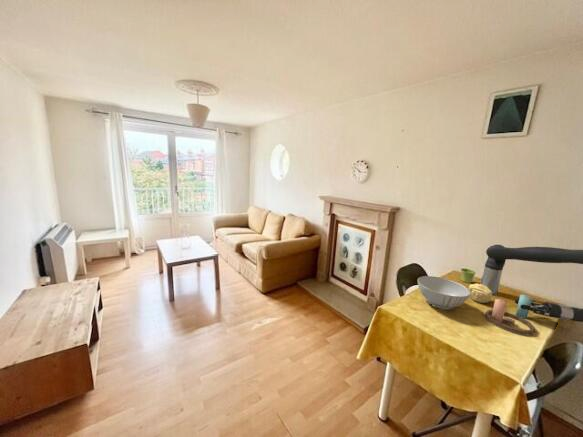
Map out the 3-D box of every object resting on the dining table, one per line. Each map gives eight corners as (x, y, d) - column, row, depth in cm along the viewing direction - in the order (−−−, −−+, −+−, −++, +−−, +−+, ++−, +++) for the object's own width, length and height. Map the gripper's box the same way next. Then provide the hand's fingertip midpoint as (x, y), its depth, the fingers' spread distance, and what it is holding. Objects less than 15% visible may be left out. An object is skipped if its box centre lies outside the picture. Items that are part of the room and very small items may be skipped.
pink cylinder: (489, 320, 127) (494, 300, 125) (492, 318, 129) (496, 298, 127) (500, 325, 123) (505, 304, 121) (503, 322, 126) (507, 301, 124)
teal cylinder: (514, 315, 133) (519, 295, 131) (516, 313, 136) (521, 293, 134) (525, 319, 130) (530, 299, 128) (527, 317, 132) (532, 297, 130)
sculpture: (464, 298, 150) (467, 283, 148) (470, 294, 157) (473, 279, 155) (487, 307, 141) (490, 290, 139) (492, 301, 148) (496, 285, 146)
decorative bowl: (459, 323, 123) (463, 301, 121) (407, 301, 143) (410, 282, 141) (472, 306, 141) (475, 287, 139) (424, 289, 160) (426, 272, 158)
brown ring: (480, 319, 128) (480, 315, 127) (491, 309, 138) (492, 306, 138) (528, 339, 112) (529, 336, 112) (537, 327, 123) (538, 323, 123)
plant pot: (470, 280, 180) (473, 269, 178) (476, 285, 171) (478, 274, 170) (456, 278, 183) (458, 267, 181) (461, 282, 174) (463, 271, 173)
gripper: (550, 298, 133) (512, 292, 138) (569, 311, 119) (527, 303, 125) (546, 310, 134) (510, 303, 140) (565, 324, 121) (523, 316, 126)
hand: (518, 303), depth 132 cm, fingers open, 5 cm apart
